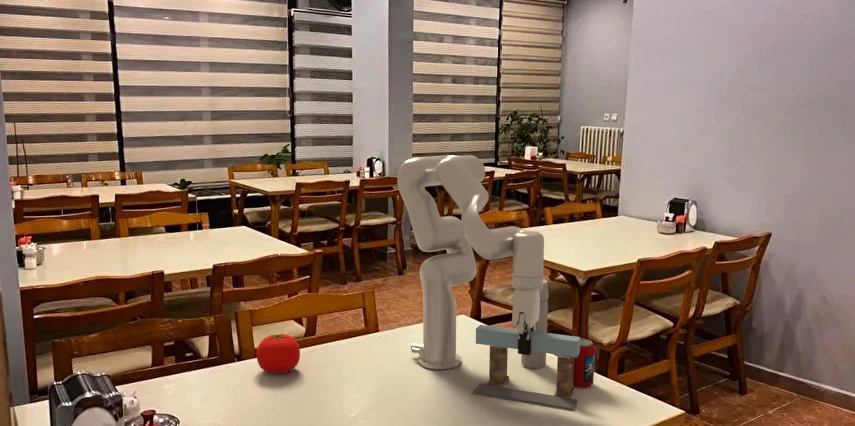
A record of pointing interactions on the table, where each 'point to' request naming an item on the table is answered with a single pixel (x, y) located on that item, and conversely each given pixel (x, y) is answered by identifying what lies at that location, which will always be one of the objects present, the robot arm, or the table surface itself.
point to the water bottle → (539, 358)
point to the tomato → (278, 353)
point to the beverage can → (584, 365)
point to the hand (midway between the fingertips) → (526, 350)
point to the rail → (538, 340)
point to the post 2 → (565, 376)
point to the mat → (526, 396)
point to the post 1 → (498, 366)
